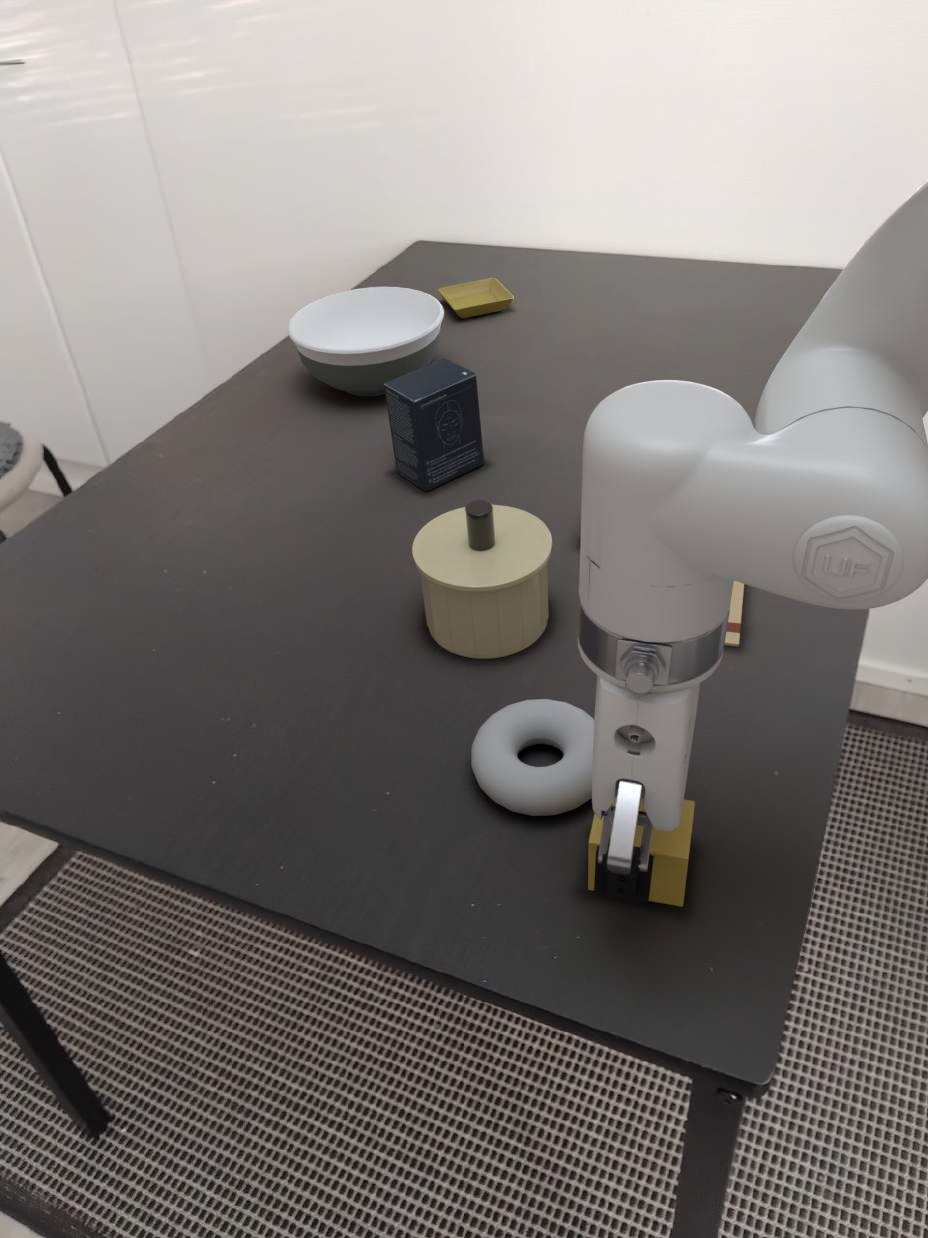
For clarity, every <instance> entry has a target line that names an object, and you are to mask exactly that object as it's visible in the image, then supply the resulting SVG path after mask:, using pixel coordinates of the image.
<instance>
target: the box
mask: <svg viewBox="0 0 928 1238" xmlns="http://www.w3.org/2000/svg"><path fill="white" fill-rule="evenodd" d="M384 389H385V394H384V395H385V401H386V407H387V408H386V409H387V415H388V422H389V428H390V429H389V430H390V435H391V440H392V441H391V442H392V448H393V456H394V461H395V462H394V463H395V469H396V472H397V473H398V474H399V475H401V476H402V477H403V478H405V479H406V480H408V481H409V482H411V483H412V484H414V485H415V486H417V487H419V488H420V489H421V490H423V491H424V492H428V491H431V490H433V489H435V488H436V487H439V486H442V485H443V484H445V483H447V482H449V481H451V480H453V479H456V478H457V477H459V476H461V475H463V474H466V473H468V472H470V471H471V470H474V469H476V468H478V467H480V466H482V465H484V464H485V457H484V447H483V445H484V444H483V436H482V425H481V412H480V402H479V392H478V391H479V390H478V382H477V374H476V372H474V371H472V370H470V369H468V368H466V367H464V366H462V365H460V364H458V363H456V362H454V361H453V360H450V359H448V358H446V357H443V358H441V359H439V360H436V361H434V362H431V363H430V364H429V365H427V366H424V367H422V368H419V369H417V370H415V371H412V372H410V373H407V374H405V375H403V376H400V377H398V378H396V379H393V380H391V381H388V382H386V383H384Z"/></svg>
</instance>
